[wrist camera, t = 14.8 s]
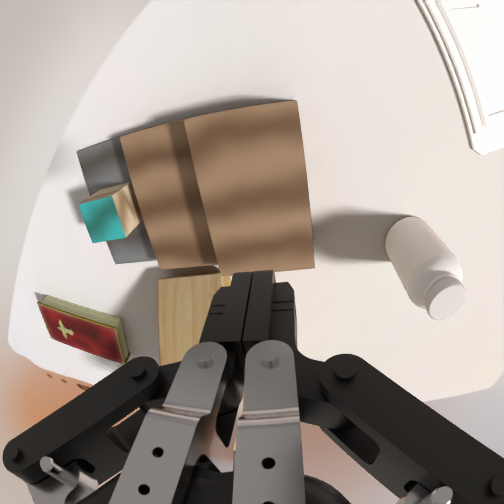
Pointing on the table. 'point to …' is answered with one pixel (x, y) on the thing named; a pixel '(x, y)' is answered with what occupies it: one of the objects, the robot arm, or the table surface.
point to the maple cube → (111, 213)
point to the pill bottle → (426, 267)
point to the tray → (474, 62)
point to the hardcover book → (85, 329)
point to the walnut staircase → (213, 190)
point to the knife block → (185, 314)
